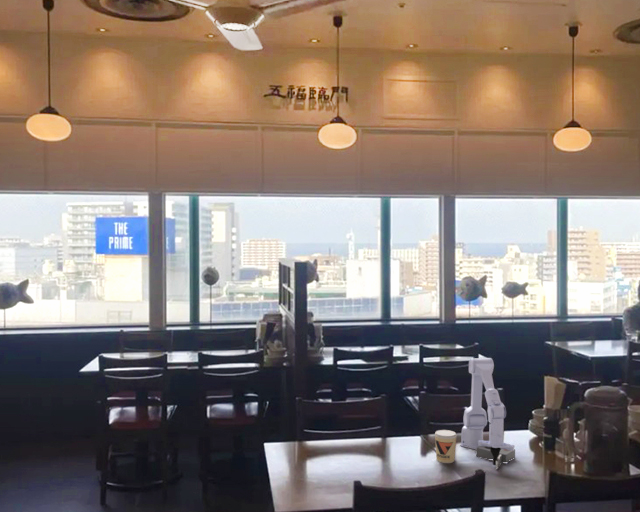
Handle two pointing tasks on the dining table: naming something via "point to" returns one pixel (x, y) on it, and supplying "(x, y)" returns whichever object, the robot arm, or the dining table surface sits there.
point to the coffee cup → (445, 445)
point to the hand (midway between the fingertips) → (495, 464)
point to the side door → (498, 461)
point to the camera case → (486, 453)
